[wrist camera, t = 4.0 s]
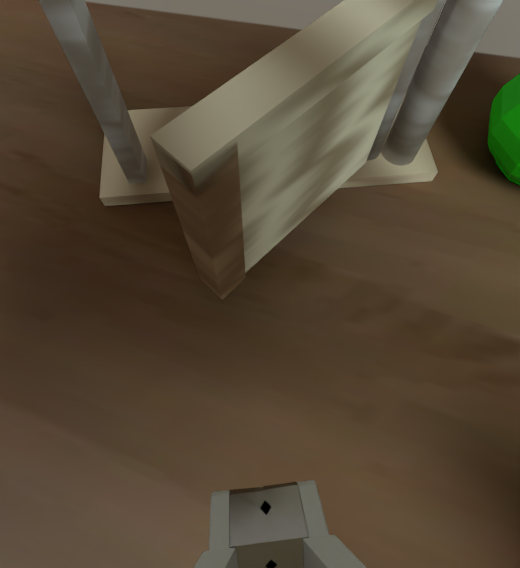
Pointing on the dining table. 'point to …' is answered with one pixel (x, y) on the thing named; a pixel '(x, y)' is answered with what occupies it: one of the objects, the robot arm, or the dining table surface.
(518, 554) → the dining table surface
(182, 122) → the gate
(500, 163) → the plastic bottle
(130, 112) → the wooden stand
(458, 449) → the dining table surface
